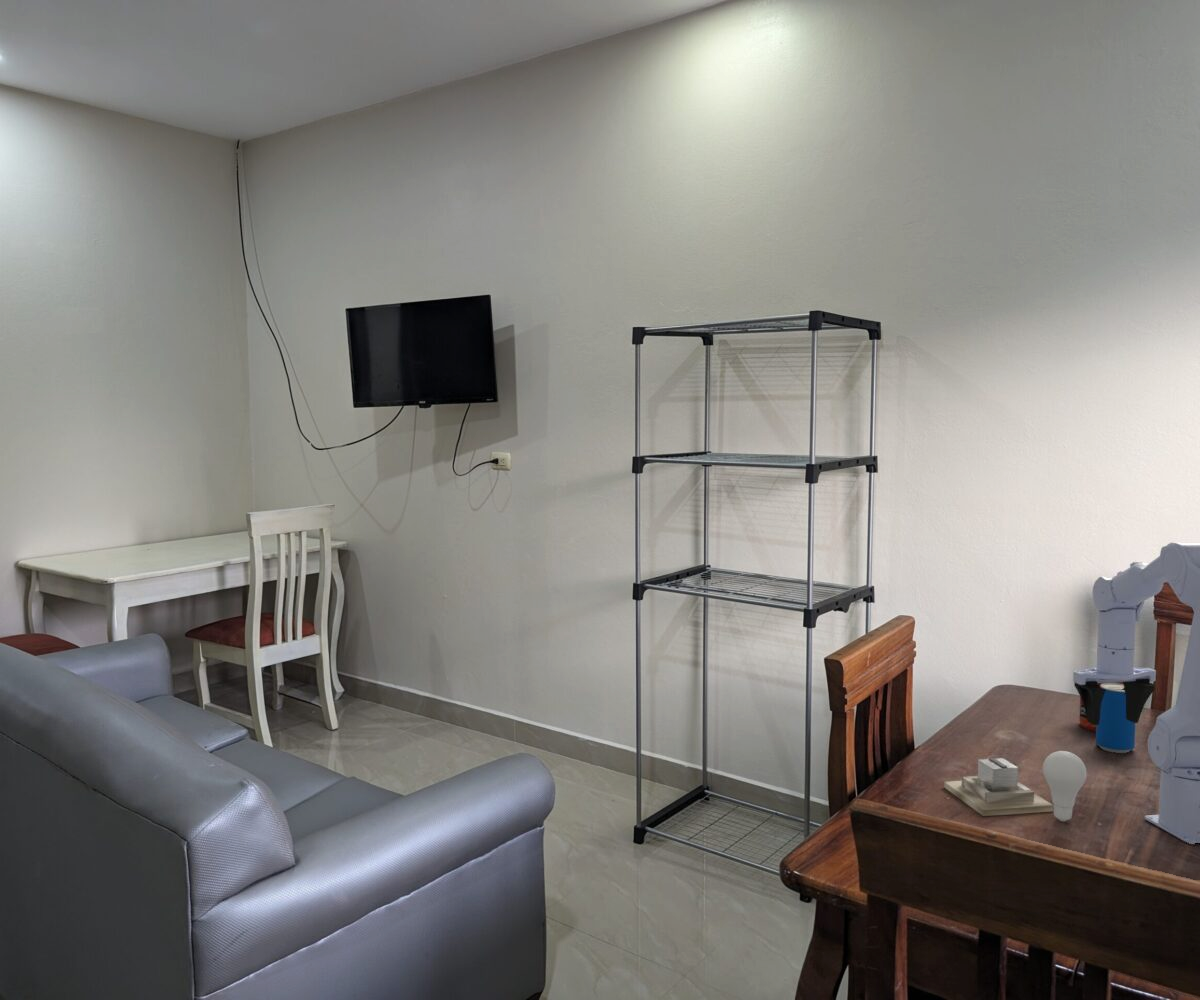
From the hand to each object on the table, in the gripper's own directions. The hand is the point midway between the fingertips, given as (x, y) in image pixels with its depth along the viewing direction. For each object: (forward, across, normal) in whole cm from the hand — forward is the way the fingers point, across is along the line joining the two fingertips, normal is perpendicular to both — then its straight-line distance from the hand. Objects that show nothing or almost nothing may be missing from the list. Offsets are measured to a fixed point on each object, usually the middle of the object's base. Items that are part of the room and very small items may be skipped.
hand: (1112, 722), depth 166 cm
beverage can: (+10, -10, -12) cm, 18 cm away
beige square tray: (+9, +26, +7) cm, 29 cm away
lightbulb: (+10, +21, +17) cm, 28 cm away
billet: (+8, +26, +7) cm, 28 cm away
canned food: (+10, -16, -24) cm, 30 cm away
